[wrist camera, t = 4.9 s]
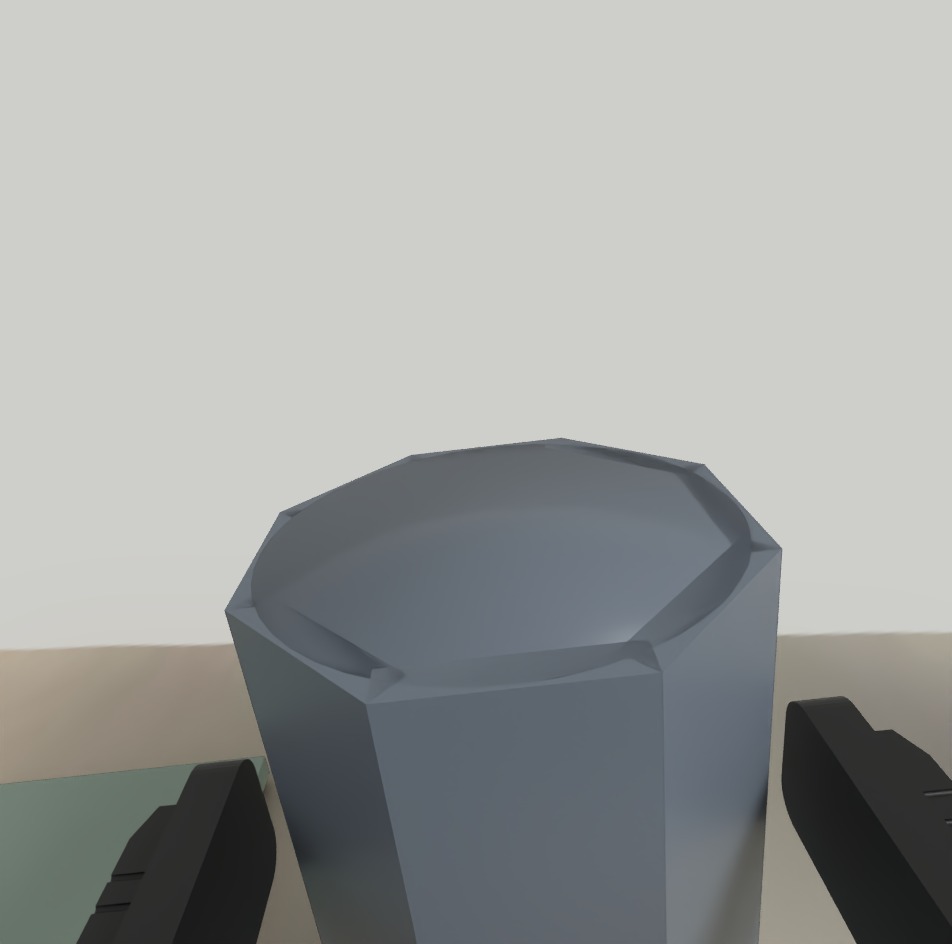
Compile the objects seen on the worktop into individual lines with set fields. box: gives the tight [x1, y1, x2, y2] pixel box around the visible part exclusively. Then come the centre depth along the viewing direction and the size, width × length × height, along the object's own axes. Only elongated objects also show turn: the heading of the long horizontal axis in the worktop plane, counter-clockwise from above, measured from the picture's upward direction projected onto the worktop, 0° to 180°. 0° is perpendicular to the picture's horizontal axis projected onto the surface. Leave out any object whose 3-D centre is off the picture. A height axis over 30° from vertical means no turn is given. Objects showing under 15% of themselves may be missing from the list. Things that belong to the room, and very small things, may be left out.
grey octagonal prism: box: [225, 438, 782, 944], centre depth 11 cm, size 6×6×10 cm
